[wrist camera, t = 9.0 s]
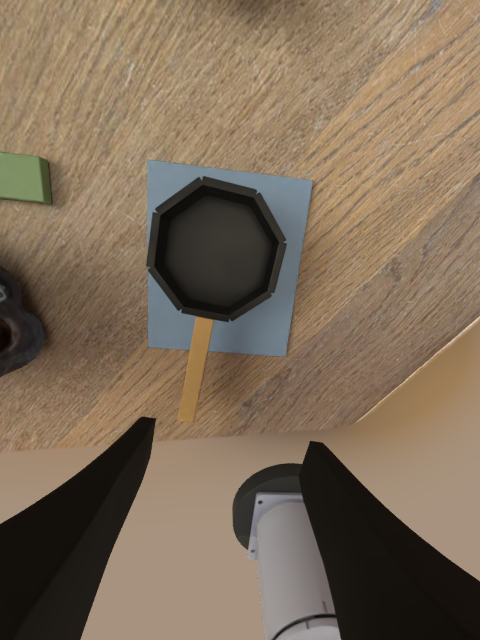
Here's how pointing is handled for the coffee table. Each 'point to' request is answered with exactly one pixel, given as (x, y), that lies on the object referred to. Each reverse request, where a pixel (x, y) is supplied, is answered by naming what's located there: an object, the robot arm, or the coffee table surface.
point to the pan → (213, 262)
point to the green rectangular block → (24, 178)
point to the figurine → (16, 327)
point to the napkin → (276, 312)
